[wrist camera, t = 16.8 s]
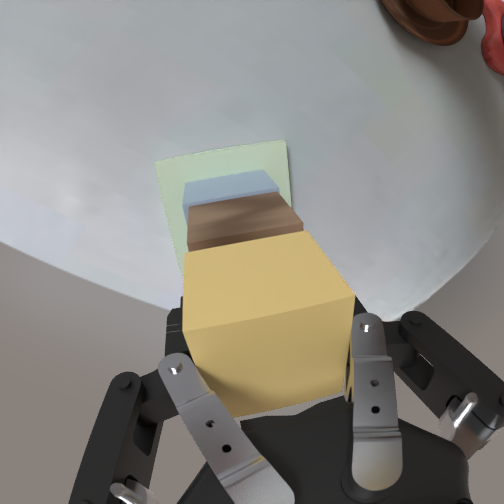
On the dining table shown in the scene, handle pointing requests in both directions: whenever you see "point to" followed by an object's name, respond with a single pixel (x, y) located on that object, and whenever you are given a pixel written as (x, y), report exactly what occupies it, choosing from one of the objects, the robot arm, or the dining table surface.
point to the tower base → (215, 167)
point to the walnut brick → (240, 221)
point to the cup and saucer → (435, 18)
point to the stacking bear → (494, 35)
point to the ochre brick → (267, 322)
